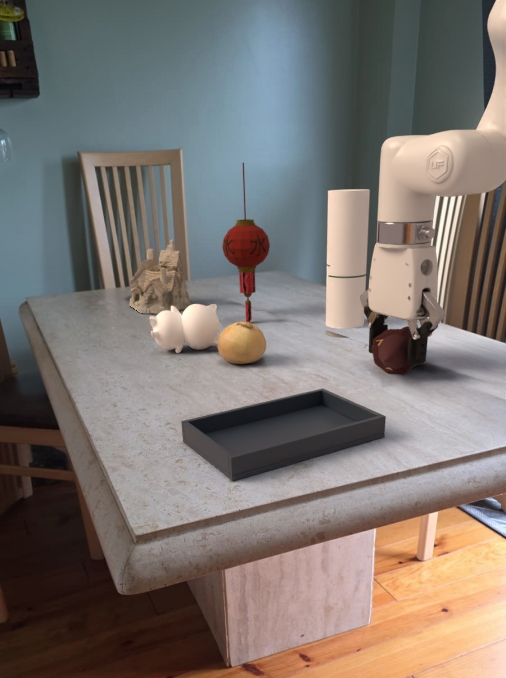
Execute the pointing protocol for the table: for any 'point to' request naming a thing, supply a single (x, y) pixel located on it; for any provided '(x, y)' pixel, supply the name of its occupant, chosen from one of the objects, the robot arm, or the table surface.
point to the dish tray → (281, 432)
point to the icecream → (392, 350)
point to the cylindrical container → (346, 258)
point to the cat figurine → (186, 327)
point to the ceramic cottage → (159, 283)
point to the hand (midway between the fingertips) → (396, 356)
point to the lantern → (246, 253)
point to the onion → (241, 343)
